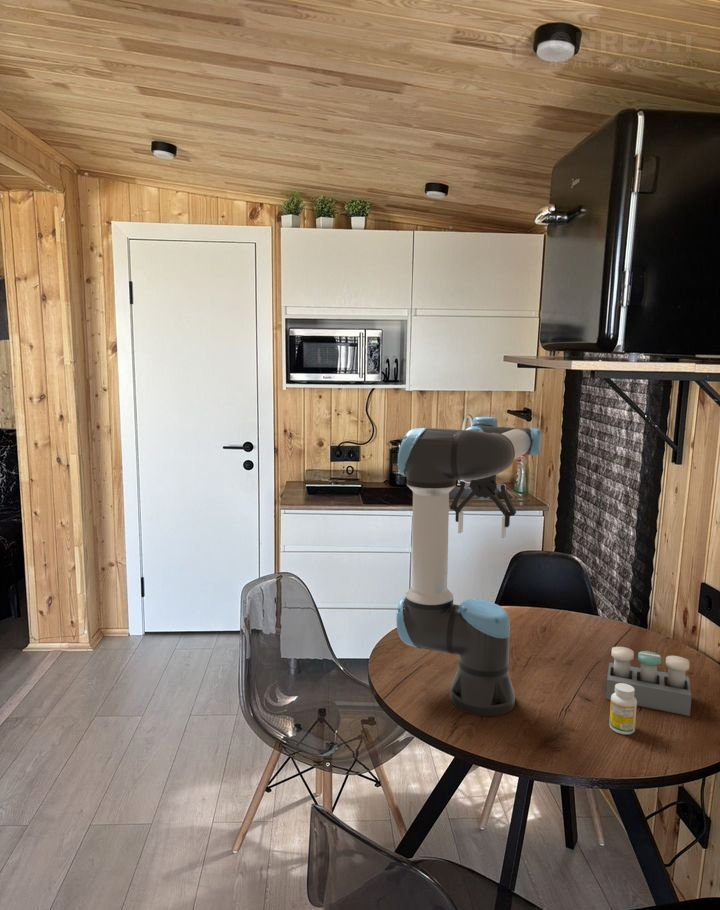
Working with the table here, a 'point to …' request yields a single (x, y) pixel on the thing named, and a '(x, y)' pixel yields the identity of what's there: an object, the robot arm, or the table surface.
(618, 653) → the knob
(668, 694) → the grey slotted rack
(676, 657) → the knob
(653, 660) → the dial mid
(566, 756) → the table surface
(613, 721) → the supplement bottle
